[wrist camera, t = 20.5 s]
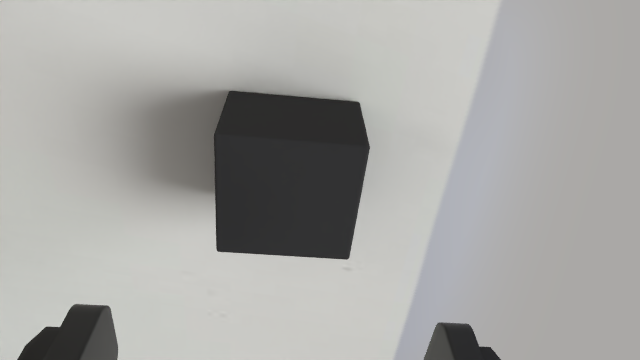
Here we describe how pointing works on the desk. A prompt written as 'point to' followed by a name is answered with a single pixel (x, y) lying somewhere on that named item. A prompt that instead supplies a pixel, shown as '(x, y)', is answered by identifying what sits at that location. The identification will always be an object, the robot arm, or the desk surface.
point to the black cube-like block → (288, 175)
